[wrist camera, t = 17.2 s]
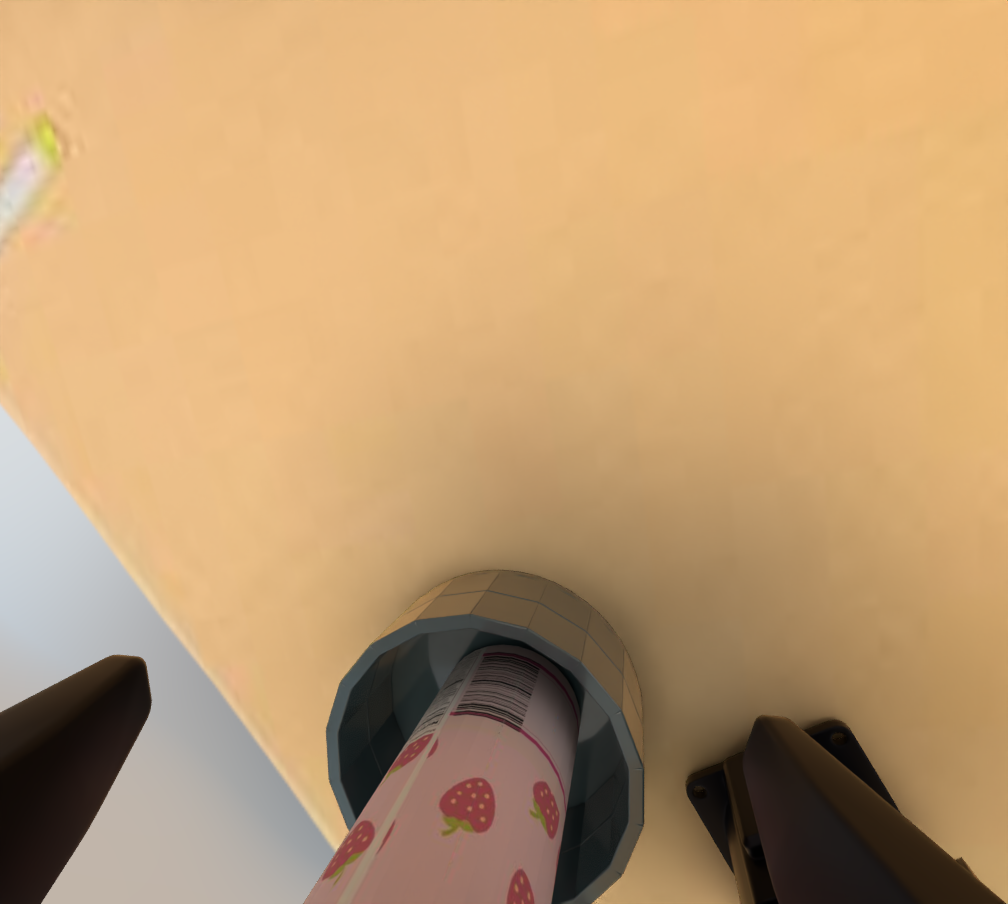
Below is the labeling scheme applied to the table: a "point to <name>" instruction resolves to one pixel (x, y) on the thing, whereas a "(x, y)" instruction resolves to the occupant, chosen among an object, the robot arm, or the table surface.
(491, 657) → the beverage can
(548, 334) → the table surface
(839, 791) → the robot arm
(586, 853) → the dark round bowl
